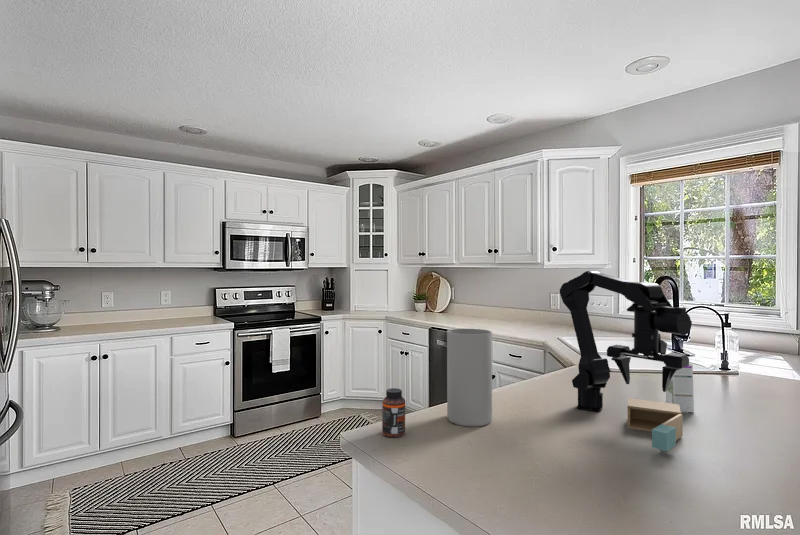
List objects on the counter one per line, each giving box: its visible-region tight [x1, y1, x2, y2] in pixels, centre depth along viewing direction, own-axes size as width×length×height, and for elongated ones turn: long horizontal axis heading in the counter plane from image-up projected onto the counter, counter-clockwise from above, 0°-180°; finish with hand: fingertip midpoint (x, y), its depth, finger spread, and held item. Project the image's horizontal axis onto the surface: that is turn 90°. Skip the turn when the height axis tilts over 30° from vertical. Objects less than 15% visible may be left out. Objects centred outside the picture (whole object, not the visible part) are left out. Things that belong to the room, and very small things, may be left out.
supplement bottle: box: [381, 387, 406, 438], centre depth 111 cm, size 6×6×11 cm
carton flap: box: [651, 413, 684, 452], centre depth 102 cm, size 18×3×6 cm, turn 129°
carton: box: [627, 397, 682, 432], centre depth 116 cm, size 12×8×6 cm, turn 60°
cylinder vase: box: [446, 328, 493, 428], centre depth 122 cm, size 12×12×25 cm
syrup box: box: [665, 362, 695, 414], centre depth 131 cm, size 6×6×14 cm
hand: (645, 387), depth 116 cm, fingers open, 9 cm apart
